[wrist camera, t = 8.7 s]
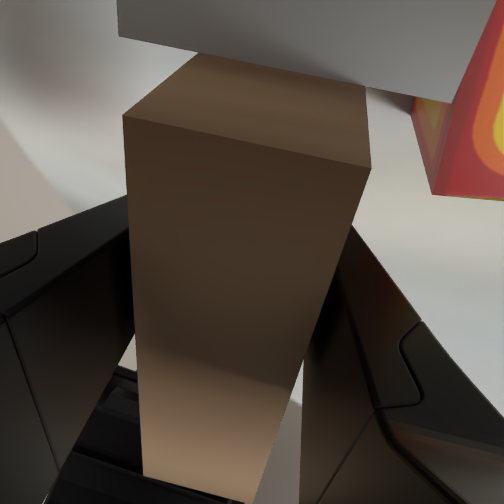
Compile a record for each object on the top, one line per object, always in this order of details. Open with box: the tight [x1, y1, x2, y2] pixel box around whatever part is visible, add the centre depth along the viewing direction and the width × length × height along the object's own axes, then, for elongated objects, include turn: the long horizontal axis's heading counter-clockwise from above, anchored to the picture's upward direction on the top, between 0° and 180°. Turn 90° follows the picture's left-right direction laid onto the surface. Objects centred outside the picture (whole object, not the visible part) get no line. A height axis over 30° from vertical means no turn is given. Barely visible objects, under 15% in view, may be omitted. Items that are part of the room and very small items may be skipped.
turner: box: [117, 0, 497, 504], centre depth 8 cm, size 16×6×4 cm, turn 172°
